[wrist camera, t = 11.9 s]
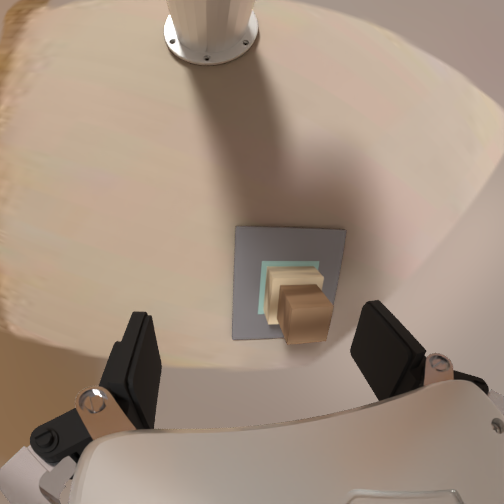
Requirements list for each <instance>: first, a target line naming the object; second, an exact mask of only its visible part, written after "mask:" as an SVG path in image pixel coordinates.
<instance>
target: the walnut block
mask: <svg viewBox="0 0 504 504" xmlns="http://www.w3.org/2000/svg"><path fill="white" fill-rule="evenodd" d="M333 307H334V306H333V305H332V303H331V302H330V301H329V300H328V298H327V297H326V296H325V294H324V293H323V292H322V291H321V289H320V288H319V287H318V286H317V284H306V285H280V291H279V301H278V310H277V320H278V323H279V325H280V328H281V330H282V333H283V335H284V338H285V340H286V343H287V345H289V344H301V343H311V342H321V341H326V339H327V335H328V330H329V326H330V321H331V317H332V312H333Z"/></svg>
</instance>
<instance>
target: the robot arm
mask: <svg viewBox="0 0 504 504" xmlns="http://www.w3.org/2000/svg"><path fill="white" fill-rule="evenodd" d="M166 2H167V5H168V9H169V12H170V15H169V16H168V18H167V20H166V22H165V26H164V37H165V41H166V44H167V46H168V47H169V49H170V50H171V51H172V52H173V53H174V54H175V55H176V56H177V57H179V58H180V59H182V60H184V61H187V62H189V63H193V64H198V65H217V64H222V63H226V62H229V61H231V60H234V59H236V58H238V57H239V56H241V55H243V54H244V53H245V52H246V51H247V50H248V49H249V48H250V47H251V46H252V44H253V43H254V41H255V39H256V36H257V33H258V20H257V17H256V15H255V13H254V11H253V10H252V9H253V6H254V3H255V0H166ZM172 43H174V44H172ZM243 44H246V45H243ZM205 59H209V60H208V61H205ZM350 352H351V356H352V358H353V359H354V361H355V362H356V364H357V366H358V367H359V369H360V370H361V372H362V374H363V375H364V377H365V379H366V380H367V382H368V384H369V385H370V387H371V388H372V390H373V392H374V393H375V395H376V397H377V398H378V400H379V401H378V402H375V403H371V404H368V405H364V406H361V407H357V408H353V409H349V410H345V411H341V412H337V413H332V414H327V415H323V416H317V417H312V418H307V419H301V420H295V421H289V422H281V423H274V424H266V425H257V426H246V427H233V428H212V429H211V428H210V429H154V422H155V413H156V405H157V397H158V390H159V383H160V376H161V369H162V365H161V359H160V355H159V350H158V346H157V341H156V336H155V331H154V325H153V320H152V316H151V315H147V312H133V313H132V315H131V318H130V320H129V323H128V325H127V328H126V331H125V333H124V336H123V339H122V341H121V342H118V341H117V342H115V344H114V346H113V348H112V351H111V353H110V356H109V359H108V361H107V364H106V367H105V370H104V372H103V375H102V378H101V381H100V384H99V386H90V387H87V388H85V389H83V390H81V391H80V392H79V393H78V394H77V396H76V398H75V406H76V408H74V409H72V410H70V411H69V412H66V413H65V414H63V415H61V416H59V417H57V418H55V419H53V420H51V421H49V422H47V423H45V424H43V425H40V426H39V427H37V428H36V429H35V430H34V431H33V432H32V434H31V437H30V444H31V445H30V446H28V447H27V448H26V447H25V446H24V447H23V448H21V450H19V451H18V452H17V453H16V454H15V455H14V456H13V457H12V458H11V459H10V460H9V461H8V462H7V463H6V464H5V465H4V466H3V467H2V468H0V490H1V491H2V493H3V494H4V496H5V497H6V498H7V499H8V501H9V502H10V503H11V504H61V503H60V500H59V497H60V493H61V491H62V490H63V489H64V488H65V487H66V486H65V485H64V484H65V483H66V482H67V481H68V480H69V479H73V480H72V485H71V490H70V496H69V502H68V504H504V396H502V395H501V394H499V393H497V392H495V391H493V390H492V389H491V390H490V392H489V389H488V386H487V384H486V383H485V381H484V380H483V379H481V378H478V377H475V376H472V375H468V374H465V373H461V372H458V371H454V370H453V364H452V362H451V360H450V359H448V357H446V356H445V355H442V354H439V353H432V354H430V355H428V356H427V358H426V357H425V353H426V350H425V349H424V347H422V345H421V344H420V343H419V342H418V341H417V340H416V339H415V338H414V337H413V335H411V333H410V332H409V331H408V330H407V329H406V328H405V327H404V326H403V325H402V324H401V323H400V321H399V320H398V319H397V318H396V317H395V316H394V315H393V314H392V313H391V312H390V311H389V310H388V309H387V308H386V307H385V306H384V305H383V304H382V303H381V302H380V301H379V300H375V301H368V302H366V304H365V305H364V306H363V308H362V311H361V315H360V318H359V322H358V325H357V329H356V332H355V336H354V339H353V342H352V346H351V349H350Z"/></svg>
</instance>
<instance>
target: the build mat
mask: <svg viewBox="0 0 504 504" xmlns="http://www.w3.org/2000/svg"><path fill="white" fill-rule="evenodd" d="M345 238H346V230H341V229H318V228H291V227H257V226H236V233H235V258H234V286H233V319H232V340H235V339H265V338H283V337H284V335H283V333H282V330H281V328H280V325H279V324H269V325H268V322H267V319H266V316H265V314H264V311H263V307H264V296H265V284H266V272H267V266H314V267H315V268H316V269H317V270H318V271H319V272H320V273H321V275H322V276H323V277H324V280H323V286H322V292H323V293H324V294H325V296H326V297H327V298H328V300H329V301H330V302H331V303H332V305H334V300H335V295H336V290H337V285H338V279H339V274H340V268H341V263H342V257H343V251H344V244H345Z"/></svg>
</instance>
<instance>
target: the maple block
mask: <svg viewBox="0 0 504 504" xmlns="http://www.w3.org/2000/svg"><path fill="white" fill-rule="evenodd" d="M323 280H324V277H323V276H322V275H321V273H320V272H319V271H318V270H317V269H316V268H315V267H314V266H267V272H266V284H265V296H264V307H263V311H264V314H265V316H266V319H267V322H268V325H269V324H279V323H278V320H277V310H278V301H279V291H280V285H306V284H317V286H318V287H319V288H320V289H321V291H322V286H323Z"/></svg>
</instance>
